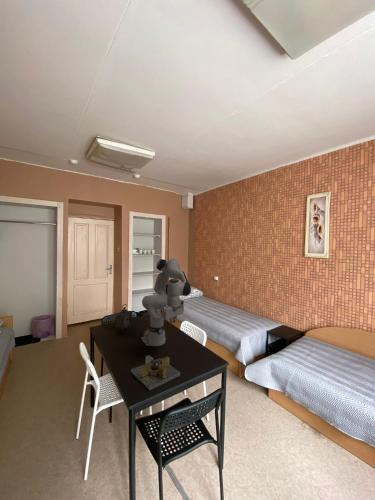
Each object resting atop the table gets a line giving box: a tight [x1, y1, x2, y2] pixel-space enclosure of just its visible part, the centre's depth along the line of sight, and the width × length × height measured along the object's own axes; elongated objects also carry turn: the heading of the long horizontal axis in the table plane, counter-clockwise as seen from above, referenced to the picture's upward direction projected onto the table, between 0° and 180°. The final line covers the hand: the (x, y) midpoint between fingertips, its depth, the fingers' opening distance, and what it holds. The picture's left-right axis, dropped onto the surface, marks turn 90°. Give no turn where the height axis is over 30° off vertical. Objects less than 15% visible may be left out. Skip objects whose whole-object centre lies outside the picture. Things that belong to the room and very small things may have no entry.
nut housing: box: [130, 357, 181, 391], centre depth 133 cm, size 22×22×7 cm
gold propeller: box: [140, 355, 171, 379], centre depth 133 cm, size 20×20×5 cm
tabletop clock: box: [115, 303, 133, 334], centre depth 202 cm, size 14×9×25 cm, turn 162°
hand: (173, 322), depth 148 cm, fingers closed
